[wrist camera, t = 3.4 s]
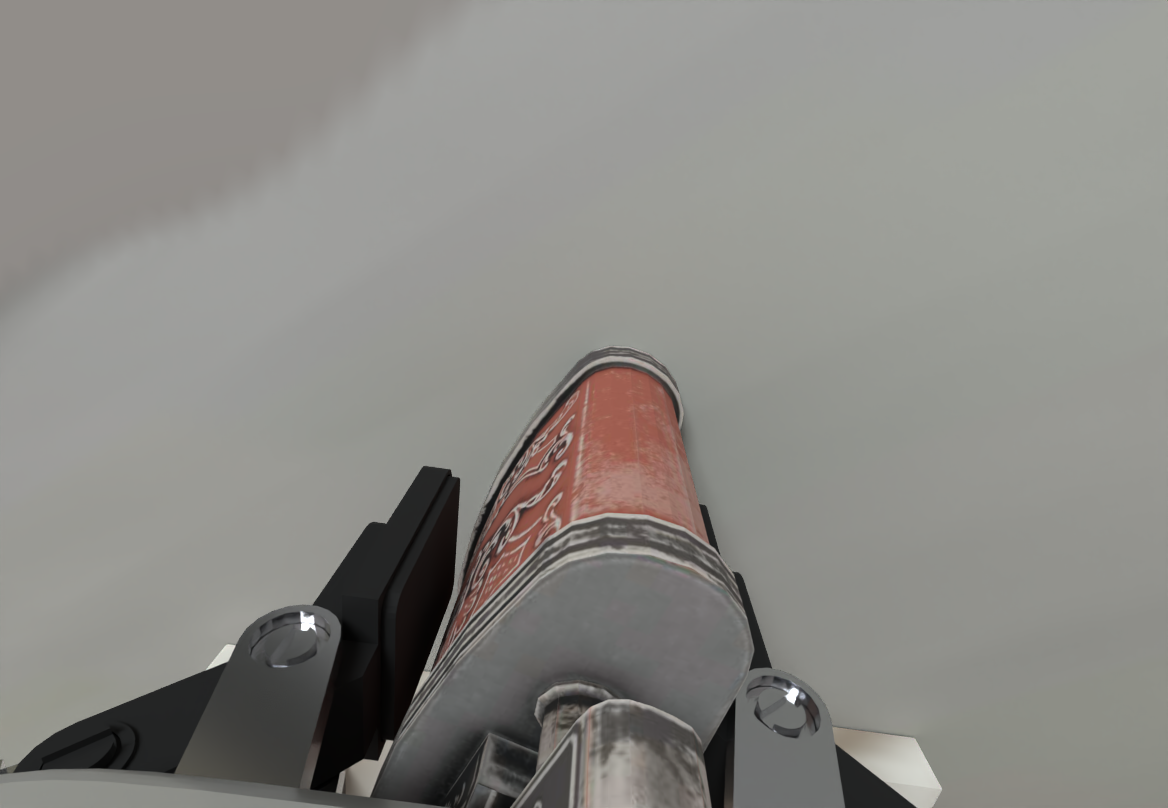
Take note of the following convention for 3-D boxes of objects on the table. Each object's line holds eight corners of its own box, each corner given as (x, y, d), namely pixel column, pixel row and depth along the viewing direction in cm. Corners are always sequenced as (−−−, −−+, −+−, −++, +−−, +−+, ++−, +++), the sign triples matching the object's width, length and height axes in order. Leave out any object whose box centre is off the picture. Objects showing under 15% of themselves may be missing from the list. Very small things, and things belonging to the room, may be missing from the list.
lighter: (551, 629, 16) (467, 1275, 7) (438, 578, 15) (175, 1196, 6) (713, 388, 13) (964, 924, 4) (581, 317, 13) (496, 730, 3)
